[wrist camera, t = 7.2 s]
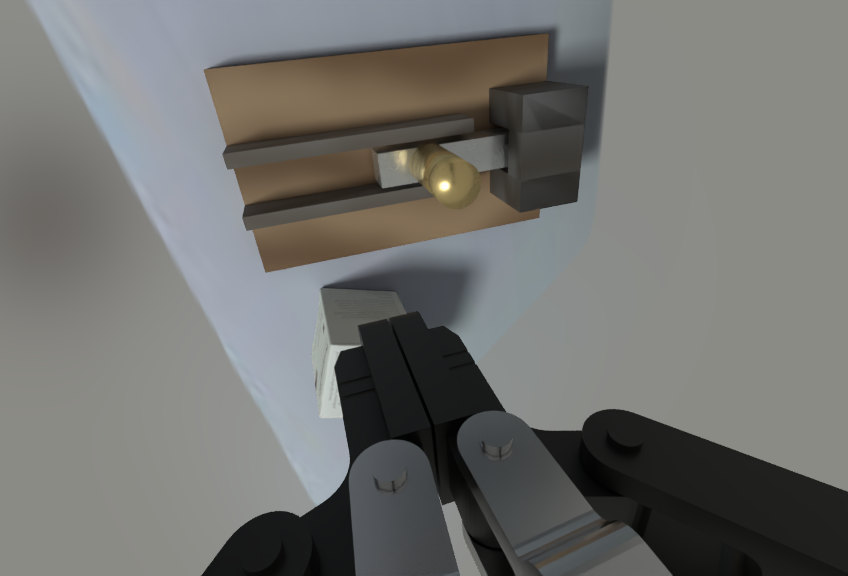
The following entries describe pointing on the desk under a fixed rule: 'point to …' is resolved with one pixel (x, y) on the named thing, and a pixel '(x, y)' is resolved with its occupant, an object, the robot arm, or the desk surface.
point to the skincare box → (343, 335)
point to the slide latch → (443, 164)
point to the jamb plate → (391, 142)
